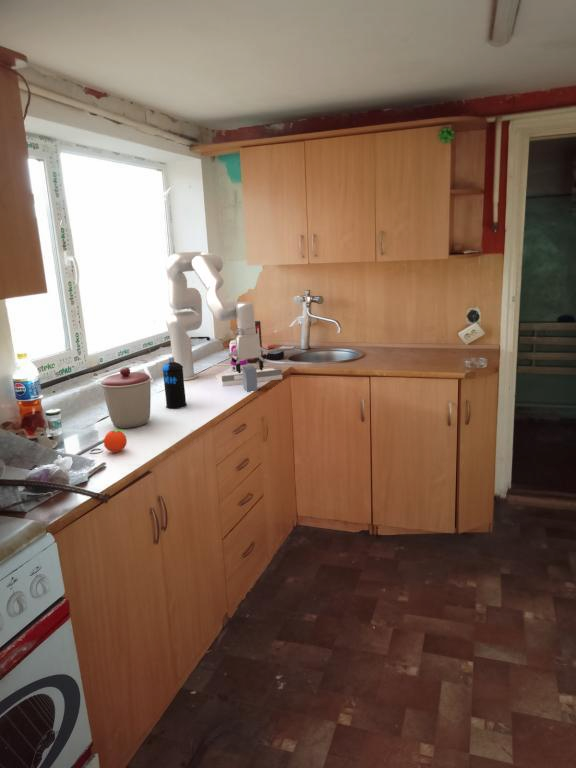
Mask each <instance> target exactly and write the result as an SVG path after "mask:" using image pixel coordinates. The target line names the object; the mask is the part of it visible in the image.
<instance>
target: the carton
mask: <svg viewBox="0 0 576 768" xmlns="http://www.w3.org/2000/svg"><path fill="white" fill-rule="evenodd" d="M256 370H257V368H256V367H255V366H254V365H252V364H250V365H247V366H242V371H241V372H243V384H242V385H243V389H244V391H245V392H246V391H247V392H246V393H252V392H251V391H254V392H258V382H257V371H256Z"/></svg>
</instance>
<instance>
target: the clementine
mask: <svg viewBox="0 0 576 768" xmlns="http://www.w3.org/2000/svg"><path fill="white" fill-rule="evenodd" d="M123 432H124V433H123ZM125 433H126V434H128V436H130V434H129V433H128V432H127V431H125V430H121V429H116V430H115V429H113V430H111V431H109V432H108V433H107V434H105V436H104V438H103V445H104V447H105V449H106V450H107V451H109V452H111V453H119V452H121V451H123V450H124V449H125V448H126V446H127V442H128V441H127V436H126V435H125Z"/></svg>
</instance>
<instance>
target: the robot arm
mask: <svg viewBox="0 0 576 768" xmlns="http://www.w3.org/2000/svg"><path fill="white" fill-rule="evenodd" d="M223 267H224V263H223V259H222V257H220V255H218V254H216V253H211V252H204V251H190V252H189V251H186V252H177V253H172V254H171V255H169V256H168V258H167V259H166V263H165V269H166V270H165V271H166V276H167V279H168V281H167V284H168V285H167V286H168V303H169V306H170V307H171V309H172V310H175V311H176V312H174V313H171V314H170V315H168V316H167V318H166V328H167V332H168V334H169V340H170V348H171V357H174V362H176V363H179V364H181V365H182V366H183V378H184V382H185V381H191V380H195V379H197V378H198V377H199V376H198V375H199V374H198V373H196V372H195V368H194V360H193V348H192V341H191V338H190V336H189V335H188V333H187V332H191V331H196V330H198V329H200V328H201V327H202V323H203V302H202V295H201V292H200V291H199V290H198V289H197V288H195V287H188V279H187V277H186V275H185V272H195V275H196V276H197V277H198V279H199V280H200V282H201V284H202V285H203V286H204V288H205V289H206V294H205V299H206V300H205V301H206V305H207V307H208V310H209V311H210V313H212V315H213V317H214V318H215V319H216V320H217V321H219V322H225V321H231V320H236V324H237V325H236V329H234V334H238V335H236V339H235V340H236V350H234V351H233V352H231V353H230V352H229V353H228V357H229V358H230V359H231V360H232V361H233V362H234V363H236V371H238V373H241V372H242V371H241V370H240V364H239V362H240V361H241V360H244V359H252V358H259V361H258V367H259V369H258V370H263V369H265V367H264V361H265V359H266V358H267V357H268V354H269V349H267V348H264V347H263V346H262V347H260V341H259V337H258V334H256V329H255V321H256V318H255V307H254V303H252V302H251V301H239V300H235V301H227V302H222V301H221V300H220V298H219V297H218V294H217V292H218V291H219V290H220V289H221V288H222V287H223V285H224V282H225V281H224V278H223V277H222V275H221V274H220V272H221V271H222V270H223ZM179 310H180V311H179ZM181 310H184V311H181ZM177 311H179V312H177ZM261 350H262V352H263V353H262V357H261ZM234 354H236V355H237V359H236V360H235V359H234V358H233V355H234ZM231 360H230V361H231ZM236 371H235V372H236Z"/></svg>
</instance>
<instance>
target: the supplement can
mask: <svg viewBox="0 0 576 768" xmlns="http://www.w3.org/2000/svg"><path fill="white" fill-rule="evenodd" d="M228 345H229V354H230V353H231V352H233V351H234V350H236V339H232V340H230V342H229V344H228ZM233 358H234V359H235V360H236V359H237V355H236V354H234V355H233ZM239 364H240V370H241V372H242V366H248V363H247V359H244V360H241V361H240V362H239ZM230 370H232V372H238V371H236V363H234V362H233V361H232V360H231V359H230Z"/></svg>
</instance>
